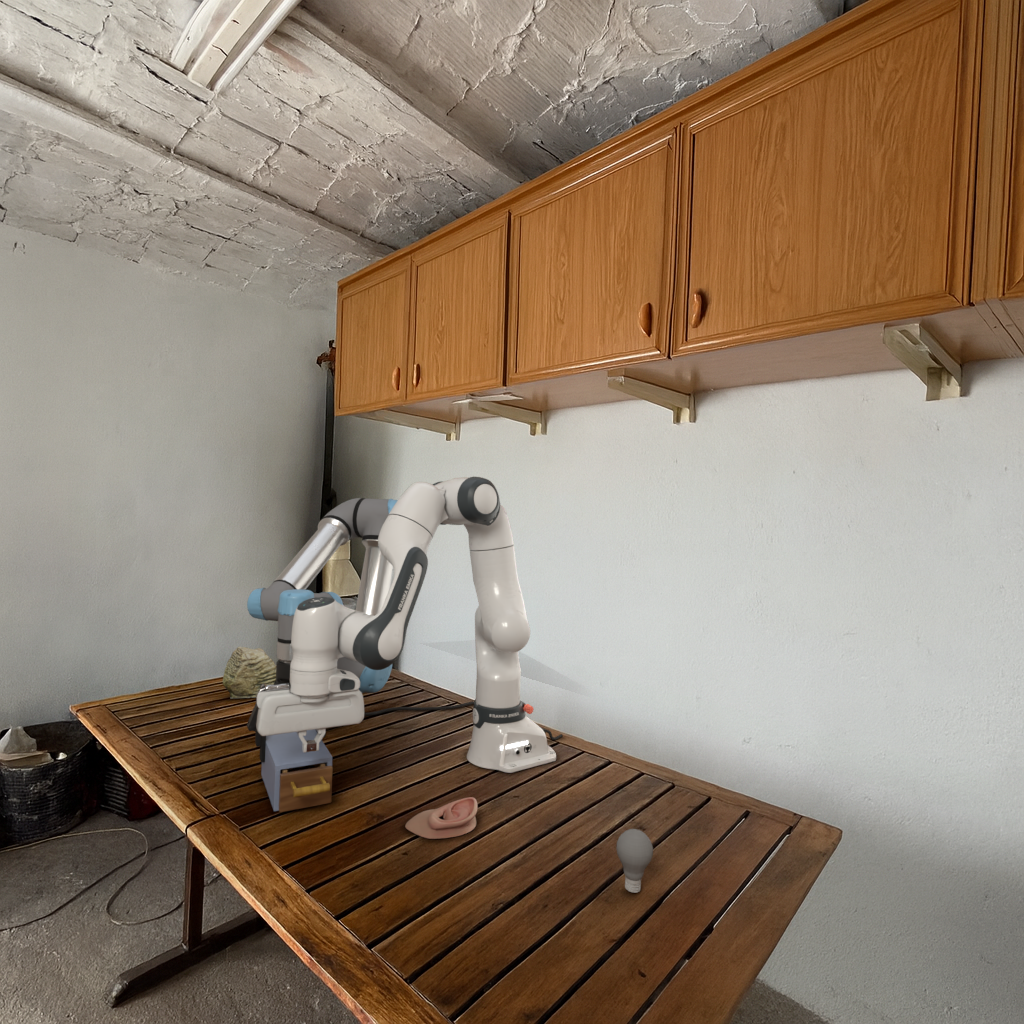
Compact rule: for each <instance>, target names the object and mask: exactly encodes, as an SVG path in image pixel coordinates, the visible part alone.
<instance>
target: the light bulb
mask: <svg viewBox="0 0 1024 1024" xmlns="http://www.w3.org/2000/svg"><path fill="white" fill-rule="evenodd" d="M615 849H616V854H617V857H618V859H619V861H620V863H621V865H622V867H623V873H624V874H623V875H624V876H625V878H624V888H625V890H627V891H628V892H630V893H634V894H635V893H639V892H640V891H641V889H642V887H641V886H642V879H643V877H644V875H645V871H646V868H647V867H648V866H649V864H650V863H651V861H652V859H653V855H654V847H653V843H652V841H651V838H649V836H648V835H647V834H646V833H645V832H643V831H642V830H641V829H636V828H629V829H627V830H625V831H623V832H622V833H621V834H620V835H619V837H618V839H617V841H616V847H615Z"/></svg>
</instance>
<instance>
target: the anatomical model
mask: <svg viewBox="0 0 1024 1024" xmlns="http://www.w3.org/2000/svg"><path fill="white" fill-rule="evenodd" d="M478 805H479V804H478V801H477V799H476V798H475V797H471V796H469V797H464V798H460V799H457V800H454V801H452V802H449V803H446V804H444V805H442V806H440V807H437V808H435V809H427V810H424V811H421V812H419V813H417V814H416V815H413V816H412V817H411V818H410V819H409V820H408V821H407V822H406V823H405V825H404V827H405V829H406V830H408V831H409V832H411V833H413V834H415V835H416V836H418V837H422V838H424V839H427V840H428V839H430V840H437V839H438V840H439V839H449V838H455V837H459V836H463V835H466V834H468V833H470V832H472V831H473V830H474V829H475V828H476V826H477V818H476V815H477V813H478V807H479V806H478Z"/></svg>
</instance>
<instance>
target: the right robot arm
mask: <svg viewBox="0 0 1024 1024" xmlns="http://www.w3.org/2000/svg"><path fill="white" fill-rule="evenodd" d="M397 500H398V501H397V502H396V504H395V505H394V507H393V508H392V510H391V511H390V513H389V515H388V517H387V518H386V520H385V522H384V524H383V526H382V528H381V530H380V533H379V537H378V545H379V549H380V551H381V553H382V555H383V556H384V558H385V559H386V560H387V561H388V562H389V563H390V564H391V565H392V566H393V568H394V570H393V578H392V583H391V587H390V589H389V592H388V594H387V597H386V599H385V602H384V604H383V607H382V609H381V611H380V612H379V613H378V614H376V615H375V616H374V615H370V614H367V613H364V612H360V611H356V609H353V608H350V607H347V606H345V605H344V604H343V605H341V604H340V603H338V602H337V601H336V600H335V599H334V598H331V597H315V598H311V599H307V600H305V601H303V602H302V603H300V604H299V605H298V606H297V608H296V611H295V614H294V618H293V625H292V636H291V647H292V650H293V658H292V661H291V664H290V683H285V684H278V685H267V686H265V688H262V689H261V690H259V692H258V693H257V696H256V697H255V698H256V699H255V704H256V705H257V707H258V708H259V709H258V714H257V722H256V728H257V731H258V733H259V734H260V735H261V736H269V735H276V734H284V733H291V732H297V734H298V736H299V738H300V739H301V741H302V751H303V753H306V752H312V751H319V742H320V741H321V740H322V741H323V738H324V737H323V736H324V735H325V732H326V733H327V730H326V728H329V727H335V728H337V727H342V726H343V727H344V726H352V725H358V724H361V723H362V722H363V720H364V719H365V716H364V713H365V699H364V695H363V693H361V692H360V690H359V688H360V680H359V678H358V677H357V676H356V675H355V674H353V673H352V672H350V671H346V670H341V669H337V660H338V659H339V658H341V657H346V658H348V659H351V660H354V661H357V662H359V663H360V664H362V665H364V666H366V667H368V668H370V669H373V670H382V669H385V668H387V667H389V666H390V665H392V666H393V664H394V663H395V662H396V661H397V660H398V659H399V657H400V656H401V655H402V652H403V650H404V646H405V643H406V636H407V630H408V626H409V623H410V620H411V617H412V614H413V612H414V609H415V606H416V604H417V600H418V598H419V595H420V593H421V590H422V586H423V584H424V581H425V578H426V575H427V571H428V567H429V561H428V556H427V555H428V550H429V547H430V545H431V543H432V541H433V538H434V537H435V534H436V532H437V530H438V528H439V526H445V525H449V526H464V528H465V529H466V531H467V534H468V549H469V555H470V564H471V573H472V580H473V585H474V588H475V593H476V598H477V602H478V606H477V608H476V610H475V613H474V643H475V660H476V678H475V681H476V683H475V699H474V700H473V701H474V704H473V706H472V707H473V708H472V724H473V727H472V733H471V739H470V743H469V746H468V750H467V753H466V759H467V761H468V762H469V763H471V764H472V765H474V766H476V767H479V768H483V769H488V770H496V771H500V772H503V773H508V774H512V773H517V772H519V771H524V770H527V769H530V768H535V767H537V766H538V767H539V766H541V765H547V764H550V763H553V762H556V761H557V754H556V753H557V752H556V751H555V750H554V749H553V748H552V746H550V745H549V744H548V738H547V735H546V734H548V737H549V739H550V740H551V741H558V740H559V739H561V738H563V734H562V733H561V734H559V735H557V736H555V737H554V736H553V734H552V731H550V730H549V729H546V728H544V727H542V726H540V725H538V723H536V722H534V721H533V720H532V719H531V718H529V717H528V716H527V714H528V715H531V714H533V713H534V710H535V709H534V706H532V705H531V704H529V703H526V702H524V701H523V700H521V683H522V682H521V681H522V669H521V664H520V655H519V651H521V650H523V649H524V648H525V647H526V645H527V644H528V643H529V641H530V638H531V626H530V623H529V620H528V615H527V609H526V606H525V600H524V595H523V592H522V587H521V585H520V579H519V574H518V567H517V558H516V550H515V543H514V536H513V530H512V527H511V523H510V519H509V515H508V513H507V510H506V508H505V507H504V506H503V505H502V504H501V501H500V495H499V492H498V489H497V488H496V486H495V484H494V483H493V482H492V481H491V480H489V479H488V478H485V477H481V476H470V477H467V476H466V477H465V476H464V477H454V478H451V479H448V480H444V481H442V480H441V481H437V482H435V483H429V482H427V481H416V482H414V483H412V484H410V485H409V486H408V487H407V488H406V489H405V491H404V492H403V493H402V494H401V495H400V496H399V498H397ZM263 690H265V691H263ZM314 729H316V730H317V732H318V733H317V735H316V737H315V739H314V740H308V741H306V740H305V738H304V737H303V736H306V731H307V730H314Z"/></svg>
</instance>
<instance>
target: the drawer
mask: <svg viewBox="0 0 1024 1024" xmlns="http://www.w3.org/2000/svg"><path fill="white" fill-rule="evenodd" d="M333 768H334V767H333V765H332V766H325V764H324V763H319V764H313V765H307V766H301V767H294V768H288V769H282V770H280V787H279V811H278V812H279V813H285V812H290V811H295V810H299V809H305V808H311V807H316V806H320V805H326V804H331V803H332V796H333V795H332V794H333V793H332V792H333Z"/></svg>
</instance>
